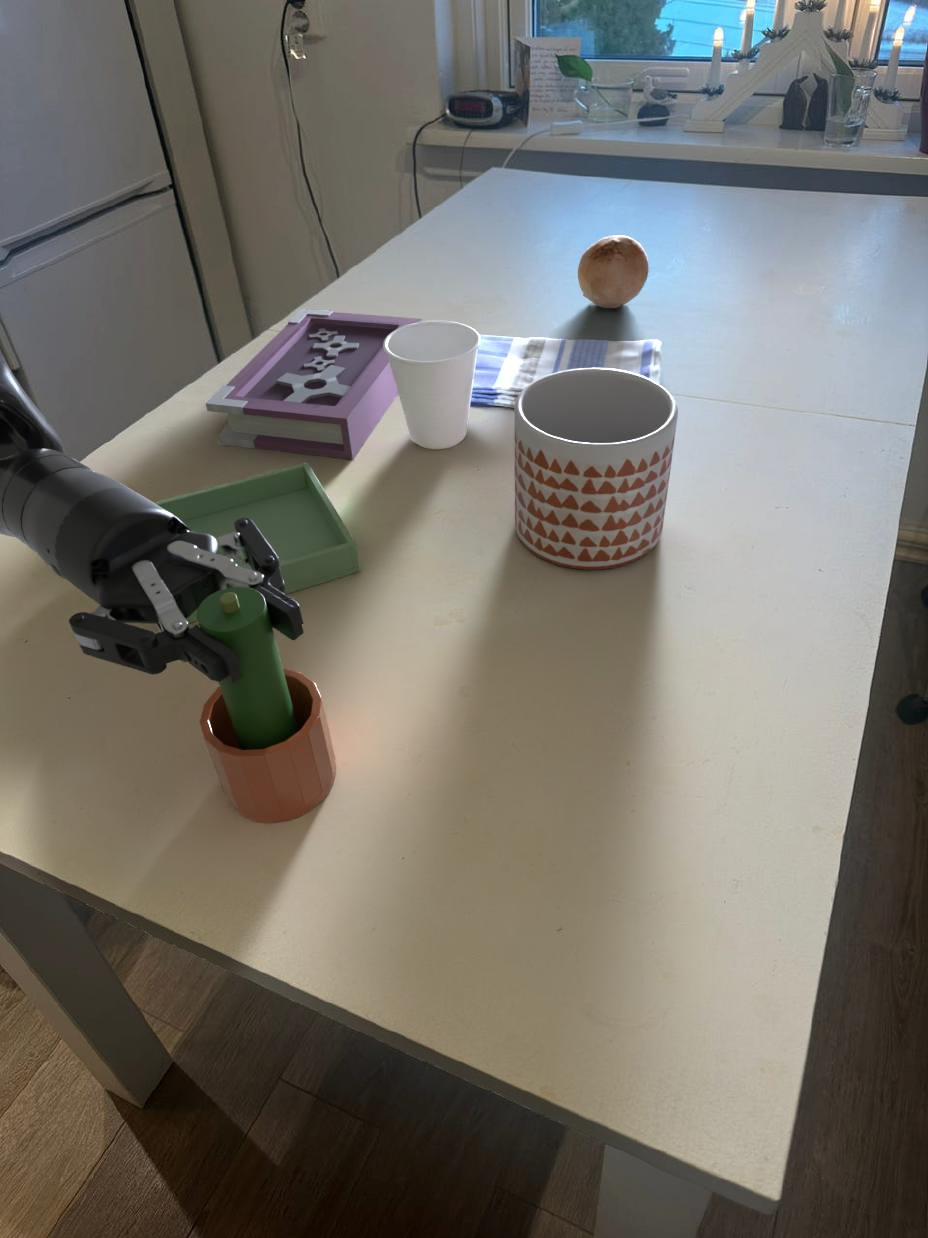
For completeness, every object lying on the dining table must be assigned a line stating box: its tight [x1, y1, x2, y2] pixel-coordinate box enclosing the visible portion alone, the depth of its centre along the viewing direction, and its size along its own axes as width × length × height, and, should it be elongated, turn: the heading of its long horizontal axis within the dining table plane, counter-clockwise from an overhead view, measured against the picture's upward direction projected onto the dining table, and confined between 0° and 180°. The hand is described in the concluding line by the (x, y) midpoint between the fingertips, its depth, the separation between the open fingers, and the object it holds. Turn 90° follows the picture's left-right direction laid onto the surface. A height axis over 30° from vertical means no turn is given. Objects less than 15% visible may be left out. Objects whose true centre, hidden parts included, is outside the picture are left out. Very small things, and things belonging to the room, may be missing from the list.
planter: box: [513, 368, 679, 571], centre depth 78 cm, size 14×14×13 cm
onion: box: [577, 234, 650, 309], centre depth 117 cm, size 10×9×10 cm
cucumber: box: [197, 587, 299, 750], centre depth 56 cm, size 4×4×16 cm
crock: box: [199, 667, 337, 824], centre depth 59 cm, size 8×8×7 cm
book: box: [204, 308, 423, 460], centre depth 102 cm, size 25×16×5 cm, turn 164°
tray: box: [153, 462, 361, 624], centre depth 80 cm, size 17×15×3 cm
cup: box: [383, 320, 481, 450], centre depth 92 cm, size 10×10×11 cm
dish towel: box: [470, 334, 663, 409], centre depth 103 cm, size 17×24×3 cm
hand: (266, 646), depth 51 cm, fingers closed on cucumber, 4 cm apart
